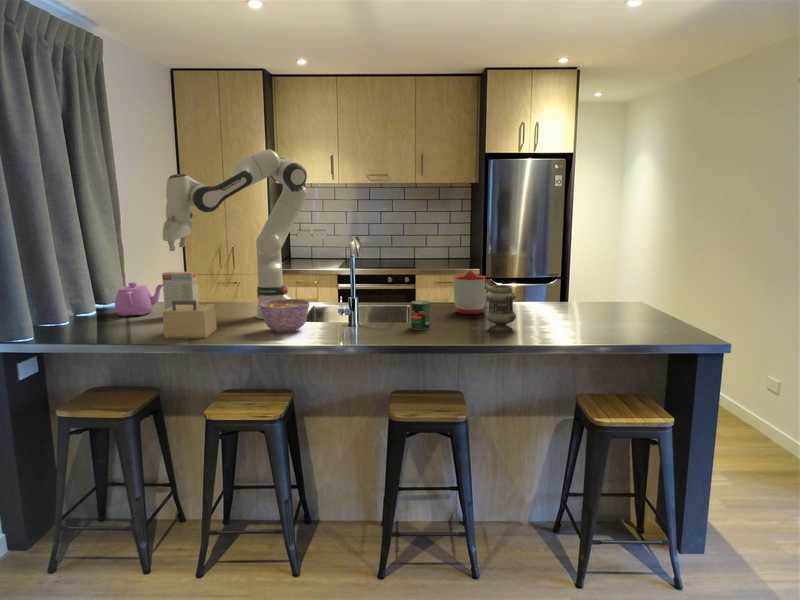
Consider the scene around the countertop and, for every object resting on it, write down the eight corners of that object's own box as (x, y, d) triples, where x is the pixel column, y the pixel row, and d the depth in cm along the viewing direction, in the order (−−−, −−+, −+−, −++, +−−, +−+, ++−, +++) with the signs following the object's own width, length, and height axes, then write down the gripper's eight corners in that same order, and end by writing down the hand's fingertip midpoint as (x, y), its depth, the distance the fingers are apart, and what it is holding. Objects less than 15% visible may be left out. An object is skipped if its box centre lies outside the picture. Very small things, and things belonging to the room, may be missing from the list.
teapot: (109, 320, 262) (106, 287, 260) (120, 311, 282) (117, 280, 280) (163, 317, 267) (161, 285, 265) (170, 309, 287) (168, 279, 285)
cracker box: (200, 316, 270) (197, 271, 266) (194, 318, 264) (191, 273, 260) (171, 315, 271) (168, 271, 268) (165, 318, 265) (161, 272, 262)
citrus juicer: (489, 316, 265) (490, 272, 262) (451, 315, 268) (452, 272, 265) (490, 309, 281) (491, 268, 277) (454, 308, 284) (455, 268, 280)
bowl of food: (267, 325, 248) (266, 299, 246) (314, 325, 248) (313, 298, 246) (255, 336, 229) (254, 307, 227) (306, 336, 228) (305, 307, 226)
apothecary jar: (485, 326, 245) (486, 283, 242) (515, 326, 243) (516, 284, 240) (485, 332, 233) (486, 288, 230) (516, 333, 231) (517, 288, 228)
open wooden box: (216, 330, 240) (215, 306, 238) (205, 338, 226) (204, 313, 225) (177, 330, 240) (176, 306, 238) (164, 338, 226) (162, 313, 224)
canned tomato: (410, 329, 239) (410, 303, 237) (412, 325, 247) (412, 300, 245) (429, 330, 238) (429, 303, 236) (431, 326, 245) (431, 300, 244)
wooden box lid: (215, 306, 238) (214, 295, 238) (204, 312, 225) (203, 301, 224) (176, 306, 238) (175, 295, 237) (162, 313, 224) (161, 301, 224)
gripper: (174, 218, 223) (174, 254, 227) (195, 213, 243) (194, 245, 247) (158, 217, 223) (158, 252, 227) (180, 211, 243) (179, 244, 247)
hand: (177, 248), depth 237 cm, fingers open, 8 cm apart
